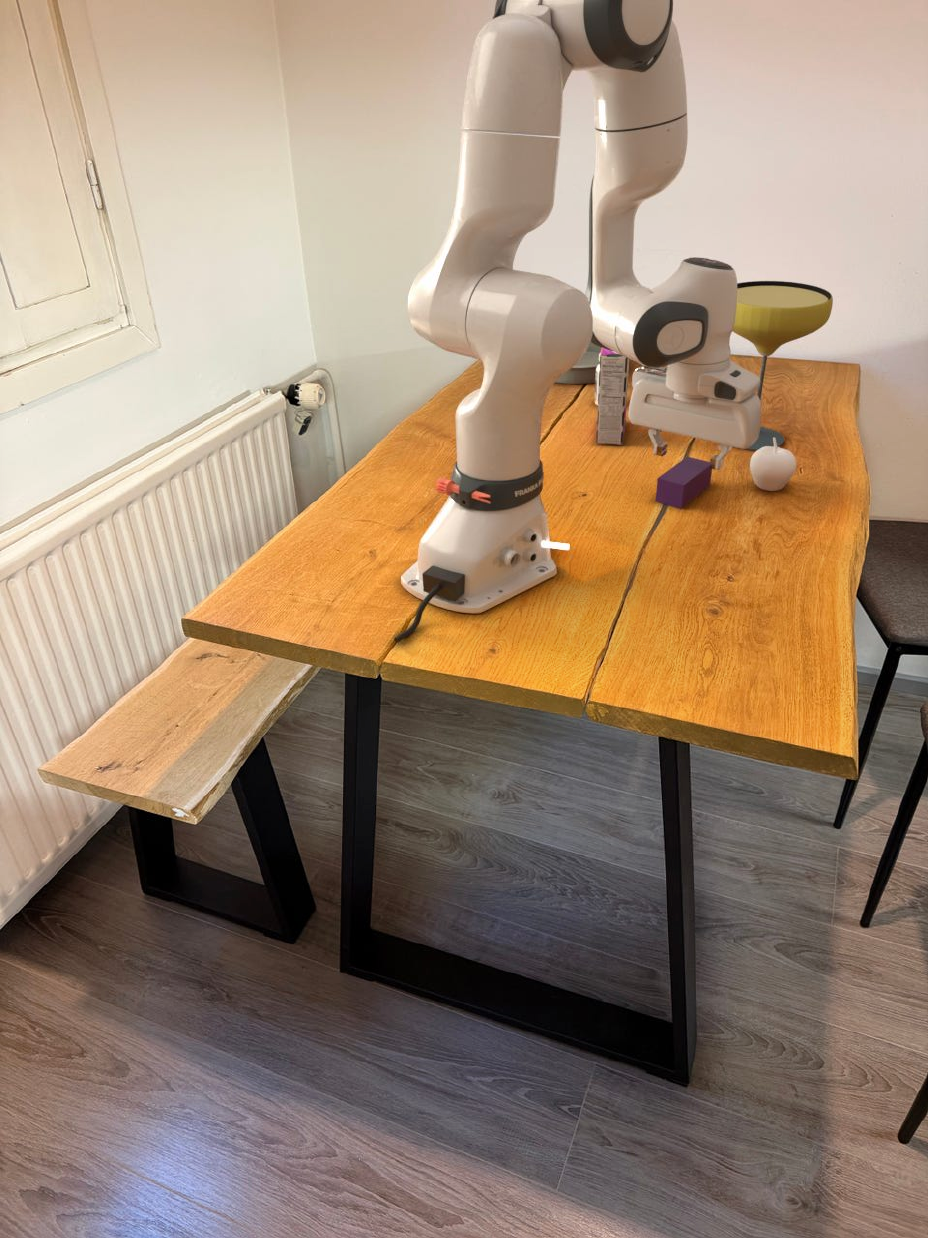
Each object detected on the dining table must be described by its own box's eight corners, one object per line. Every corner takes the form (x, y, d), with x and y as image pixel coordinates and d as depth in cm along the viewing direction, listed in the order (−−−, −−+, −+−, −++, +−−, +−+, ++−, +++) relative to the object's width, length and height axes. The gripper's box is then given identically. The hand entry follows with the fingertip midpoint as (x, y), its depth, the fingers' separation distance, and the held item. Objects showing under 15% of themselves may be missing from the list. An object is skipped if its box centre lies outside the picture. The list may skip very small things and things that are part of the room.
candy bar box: (599, 421, 167) (604, 333, 158) (625, 423, 166) (632, 334, 157) (594, 444, 158) (599, 353, 149) (622, 446, 157) (629, 354, 148)
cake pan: (511, 354, 203) (511, 334, 200) (617, 347, 204) (618, 327, 202) (530, 391, 182) (530, 369, 180) (647, 382, 184) (648, 361, 181)
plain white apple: (774, 474, 146) (782, 427, 141) (801, 491, 140) (810, 444, 136) (737, 481, 144) (744, 434, 140) (762, 499, 138) (771, 451, 134)
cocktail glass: (689, 450, 155) (707, 302, 141) (712, 414, 168) (730, 277, 154) (797, 465, 148) (826, 312, 134) (812, 427, 162) (840, 284, 148)
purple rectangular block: (681, 508, 136) (684, 485, 134) (655, 501, 139) (657, 477, 137) (710, 485, 143) (713, 462, 141) (684, 478, 145) (687, 456, 143)
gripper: (623, 368, 134) (618, 453, 142) (754, 393, 123) (740, 483, 131) (643, 356, 138) (637, 440, 146) (771, 379, 127) (757, 468, 135)
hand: (687, 461), depth 138 cm, fingers open, 8 cm apart
